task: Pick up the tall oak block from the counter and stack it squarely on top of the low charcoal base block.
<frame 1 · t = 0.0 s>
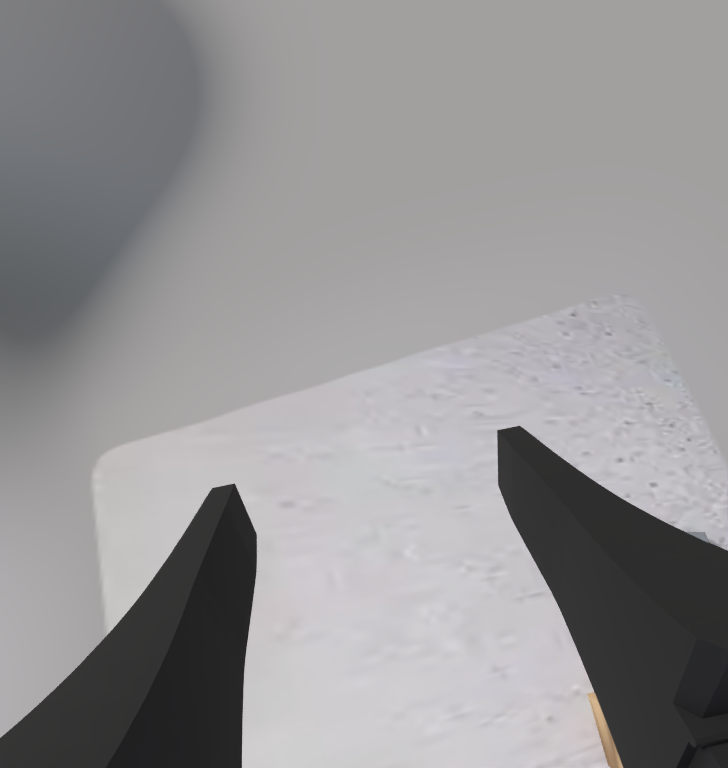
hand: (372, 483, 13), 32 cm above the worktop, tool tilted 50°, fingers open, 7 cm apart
oak block: (627, 722, 38), on the worktop
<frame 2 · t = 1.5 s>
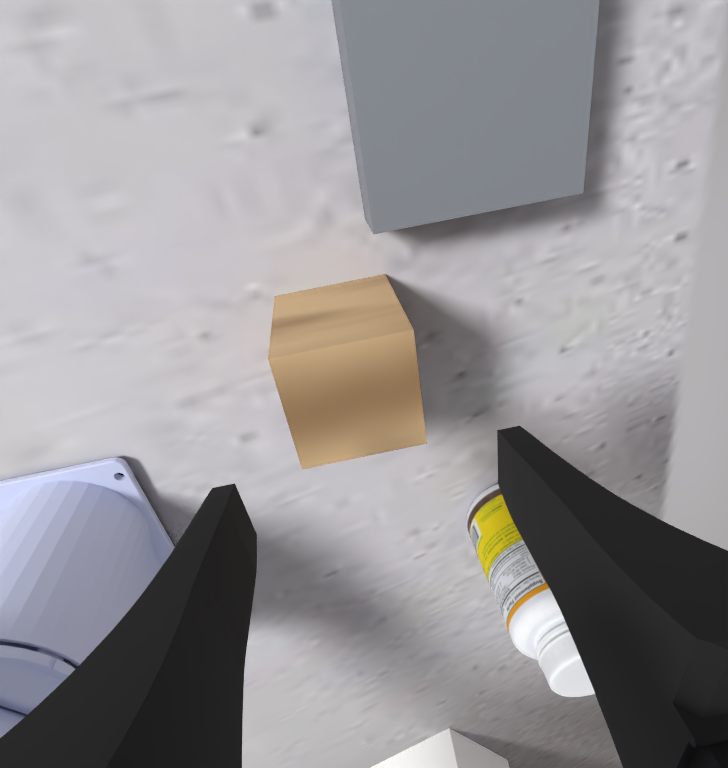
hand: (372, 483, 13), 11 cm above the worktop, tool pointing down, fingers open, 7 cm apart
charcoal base: (450, 89, 18), on the worktop
supplement bottle: (505, 505, 30), on the worktop
oak block: (340, 334, 22), on the worktop
milk: (430, 766, 49), on the worktop
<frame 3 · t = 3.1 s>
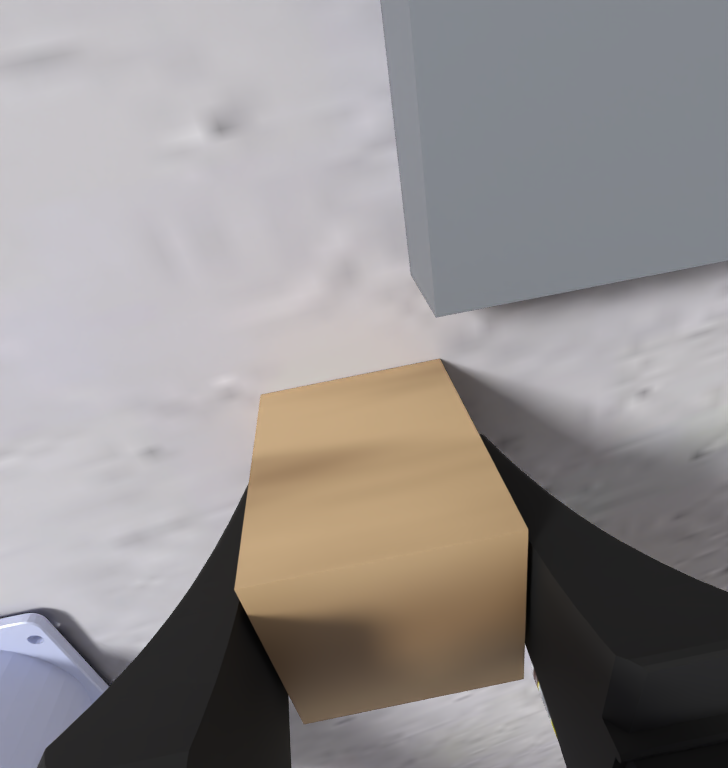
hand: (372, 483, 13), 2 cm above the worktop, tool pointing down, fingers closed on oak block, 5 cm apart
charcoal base: (574, 49, 10), on the worktop
oak block: (365, 446, 14), on the worktop, touching gripper
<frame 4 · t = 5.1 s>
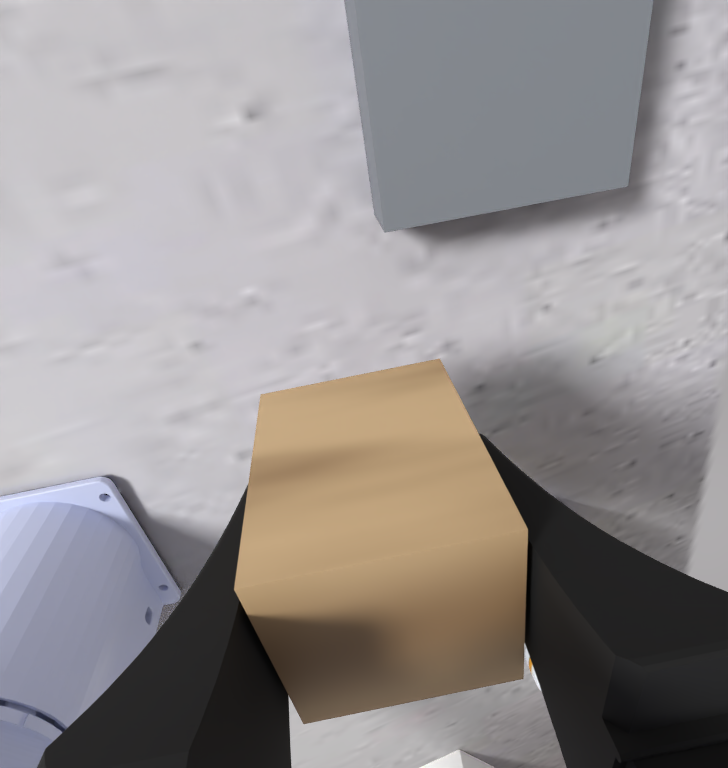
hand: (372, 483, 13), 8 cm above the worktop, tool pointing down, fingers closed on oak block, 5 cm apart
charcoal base: (474, 65, 16), on the worktop
oak block: (365, 446, 14), point 7 cm above the worktop, touching gripper
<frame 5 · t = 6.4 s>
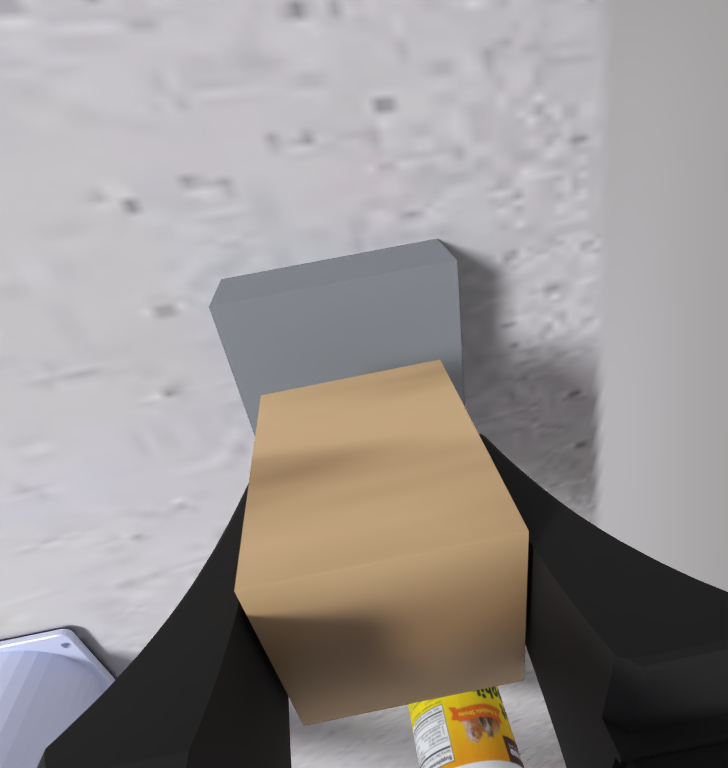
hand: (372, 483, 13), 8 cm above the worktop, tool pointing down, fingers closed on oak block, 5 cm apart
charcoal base: (347, 350, 20), on the worktop
supplement bottle: (439, 643, 32), on the worktop
oak block: (365, 446, 14), point 6 cm above the worktop, touching gripper
when the fingers open (6 cm above the worktop, at t = 7.2 s): oak block drops 2 cm, resting on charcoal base.
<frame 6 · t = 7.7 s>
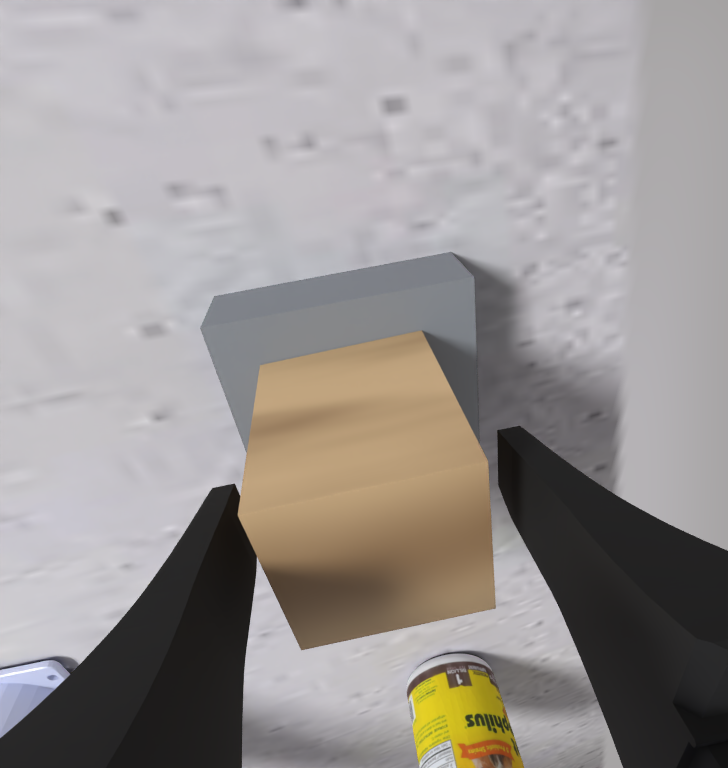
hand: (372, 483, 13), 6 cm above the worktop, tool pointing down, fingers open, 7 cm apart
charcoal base: (351, 369, 18), on the worktop, touching oak block
supplement bottle: (446, 669, 30), on the worktop
oak block: (356, 413, 16), point 3 cm above the worktop, touching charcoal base
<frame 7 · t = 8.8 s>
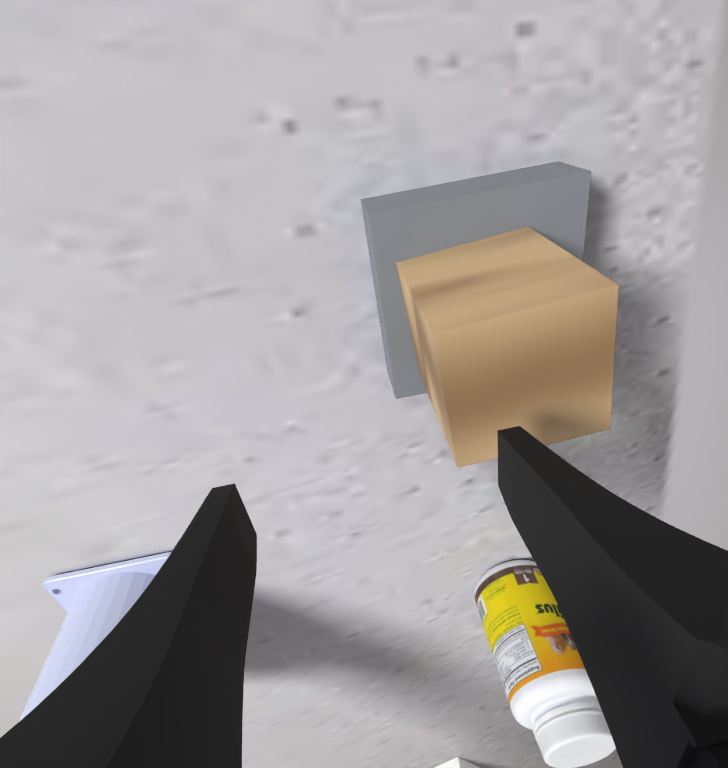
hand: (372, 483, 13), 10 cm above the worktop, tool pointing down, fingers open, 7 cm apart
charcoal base: (461, 272, 21), on the worktop
supplement bottle: (509, 578, 33), on the worktop
oak block: (469, 305, 19), point 3 cm above the worktop
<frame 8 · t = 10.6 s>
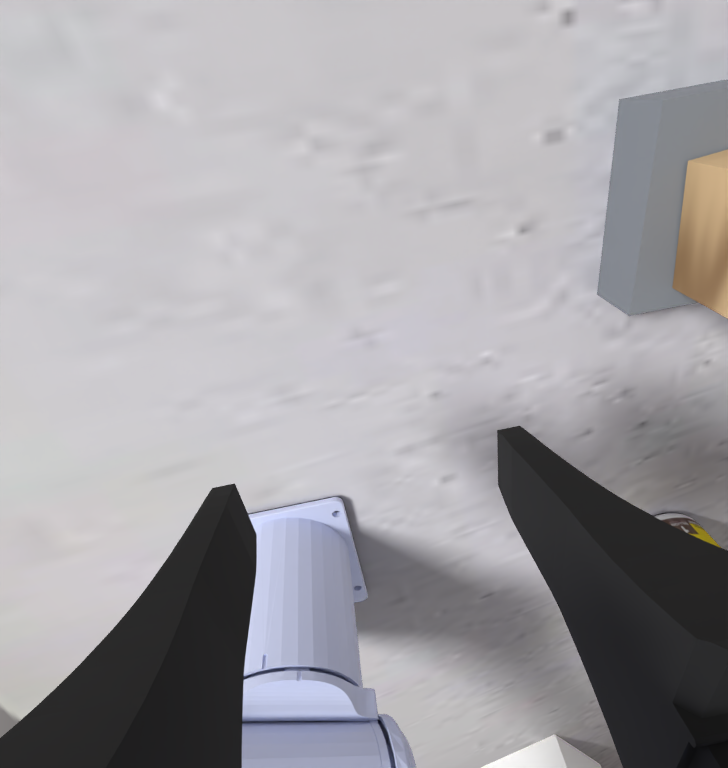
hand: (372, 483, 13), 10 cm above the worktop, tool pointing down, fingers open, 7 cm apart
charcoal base: (690, 188, 21), on the worktop
supplement bottle: (652, 535, 33), on the worktop
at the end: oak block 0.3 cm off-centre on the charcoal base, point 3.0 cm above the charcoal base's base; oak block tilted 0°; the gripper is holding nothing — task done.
